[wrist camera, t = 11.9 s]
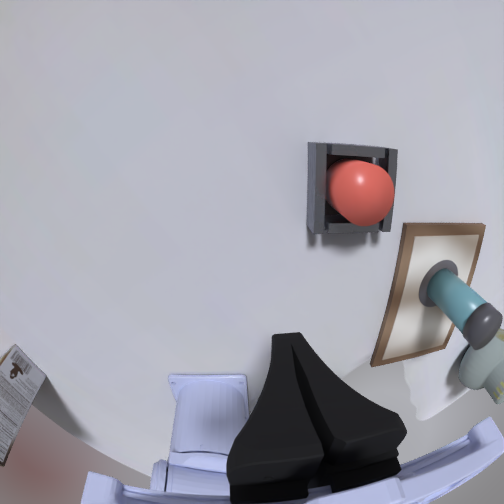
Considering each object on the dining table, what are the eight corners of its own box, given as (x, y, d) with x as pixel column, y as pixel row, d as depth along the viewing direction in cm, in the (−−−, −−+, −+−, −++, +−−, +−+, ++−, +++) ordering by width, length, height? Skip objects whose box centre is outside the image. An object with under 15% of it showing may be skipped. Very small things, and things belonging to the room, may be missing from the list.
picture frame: (442, 345, 28) (445, 349, 27) (369, 363, 27) (372, 368, 26) (482, 223, 21) (486, 225, 20) (403, 222, 21) (408, 226, 20)
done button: (370, 212, 20) (390, 225, 17) (321, 212, 20) (335, 226, 17) (374, 159, 18) (396, 165, 15) (323, 156, 18) (339, 161, 15)
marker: (447, 297, 23) (491, 344, 16) (422, 301, 23) (466, 354, 16) (456, 266, 22) (507, 309, 15) (431, 268, 22) (484, 317, 14)
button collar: (378, 223, 21) (390, 231, 19) (306, 224, 20) (313, 233, 19) (384, 147, 18) (397, 149, 16) (308, 142, 18) (315, 143, 16)
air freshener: (444, 368, 30) (476, 417, 21) (475, 321, 27) (517, 368, 18) (478, 365, 32) (507, 405, 22) (505, 325, 28) (540, 362, 19)
